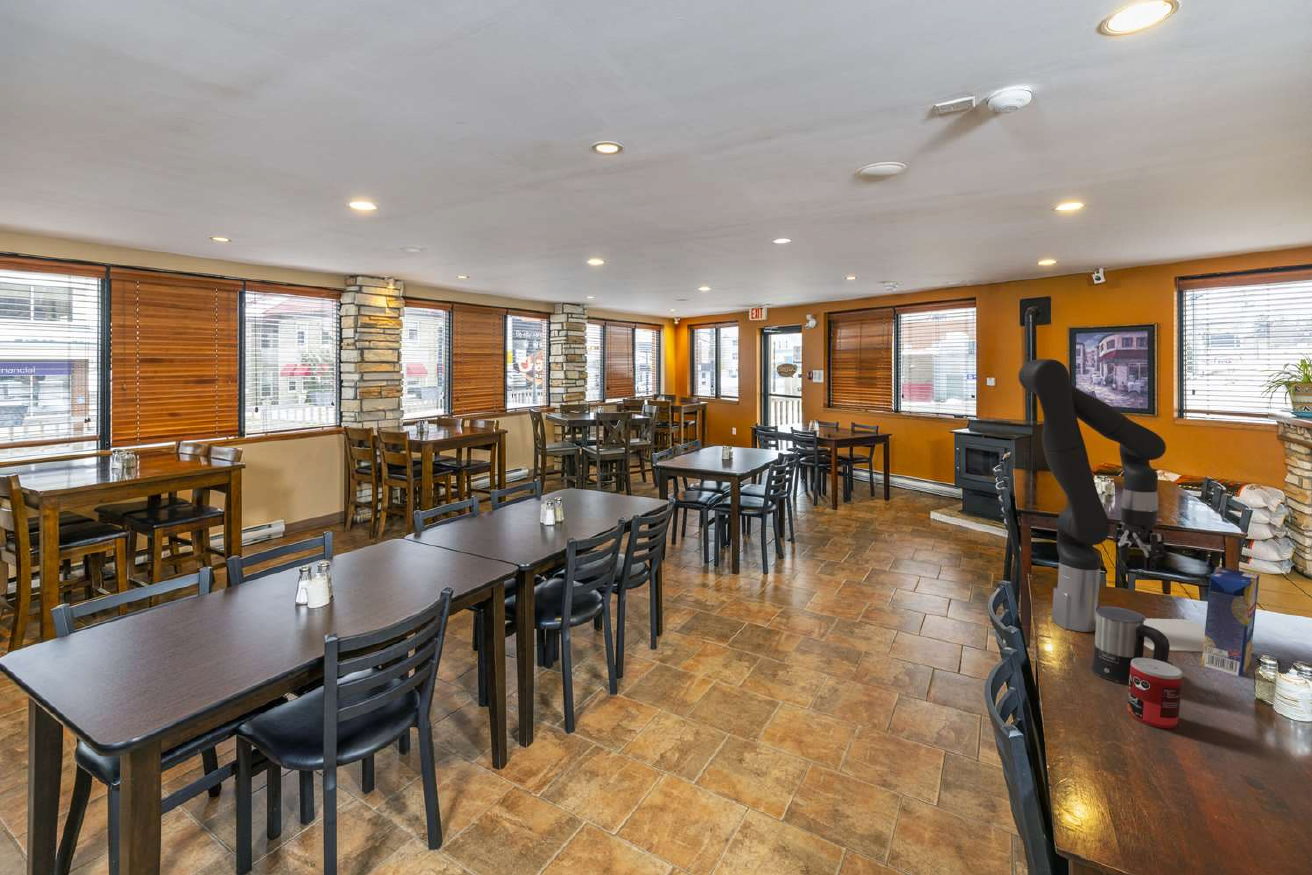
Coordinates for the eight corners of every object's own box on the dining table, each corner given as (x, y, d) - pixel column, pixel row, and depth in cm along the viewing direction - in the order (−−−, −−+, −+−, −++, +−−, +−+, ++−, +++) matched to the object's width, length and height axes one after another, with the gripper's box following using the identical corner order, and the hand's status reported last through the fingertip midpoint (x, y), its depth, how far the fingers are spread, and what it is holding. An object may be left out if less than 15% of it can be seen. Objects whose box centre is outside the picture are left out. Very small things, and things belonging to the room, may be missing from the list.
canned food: (1125, 703, 126) (1129, 653, 125) (1174, 715, 121) (1179, 664, 120) (1128, 720, 120) (1132, 668, 118) (1180, 734, 115) (1185, 680, 114)
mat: (1152, 650, 150) (1152, 649, 150) (1099, 618, 170) (1099, 617, 170) (1254, 653, 149) (1254, 651, 149) (1188, 620, 168) (1188, 619, 168)
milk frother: (1086, 674, 138) (1091, 613, 137) (1098, 652, 149) (1103, 595, 148) (1167, 697, 128) (1173, 631, 127) (1173, 672, 139) (1179, 610, 138)
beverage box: (1250, 662, 144) (1259, 574, 141) (1241, 676, 137) (1250, 584, 135) (1212, 652, 149) (1220, 567, 147) (1201, 665, 142) (1210, 576, 140)
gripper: (1105, 501, 166) (1103, 558, 168) (1146, 513, 152) (1143, 574, 154) (1132, 500, 166) (1129, 557, 168) (1176, 512, 152) (1173, 573, 154)
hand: (1136, 565), depth 161 cm, fingers open, 8 cm apart
